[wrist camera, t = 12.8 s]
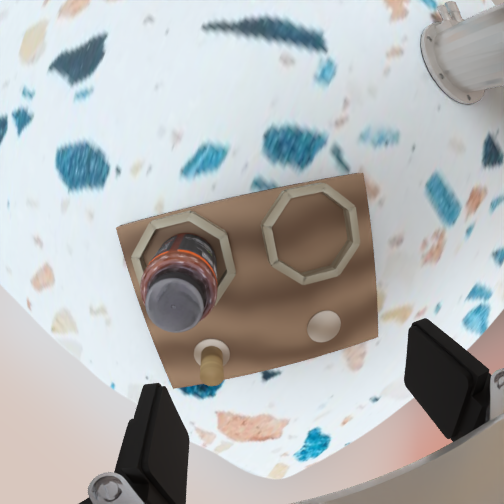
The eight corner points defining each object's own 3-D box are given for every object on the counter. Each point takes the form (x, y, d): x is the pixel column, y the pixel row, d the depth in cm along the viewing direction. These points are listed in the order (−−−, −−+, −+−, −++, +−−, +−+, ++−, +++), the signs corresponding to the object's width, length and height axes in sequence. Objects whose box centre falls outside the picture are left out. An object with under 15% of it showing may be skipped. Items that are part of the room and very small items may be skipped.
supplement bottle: (151, 278, 30) (121, 330, 19) (167, 223, 29) (140, 250, 18) (206, 296, 31) (203, 355, 21) (225, 242, 30) (230, 279, 19)
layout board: (120, 225, 30) (100, 236, 24) (357, 173, 32) (384, 173, 26) (174, 381, 35) (169, 412, 29) (373, 331, 37) (395, 354, 31)
